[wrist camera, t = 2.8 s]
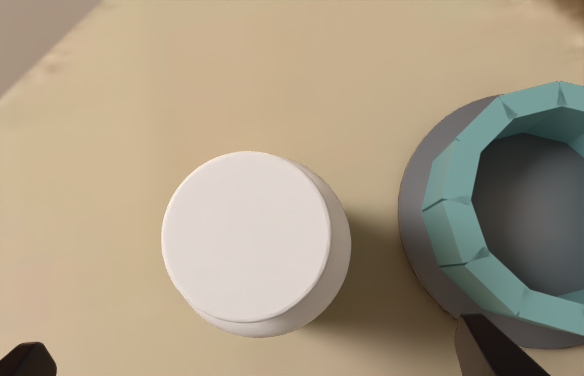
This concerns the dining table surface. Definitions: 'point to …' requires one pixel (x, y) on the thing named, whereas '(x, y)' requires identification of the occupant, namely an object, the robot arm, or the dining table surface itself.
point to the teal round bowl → (503, 213)
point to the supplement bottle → (256, 243)
